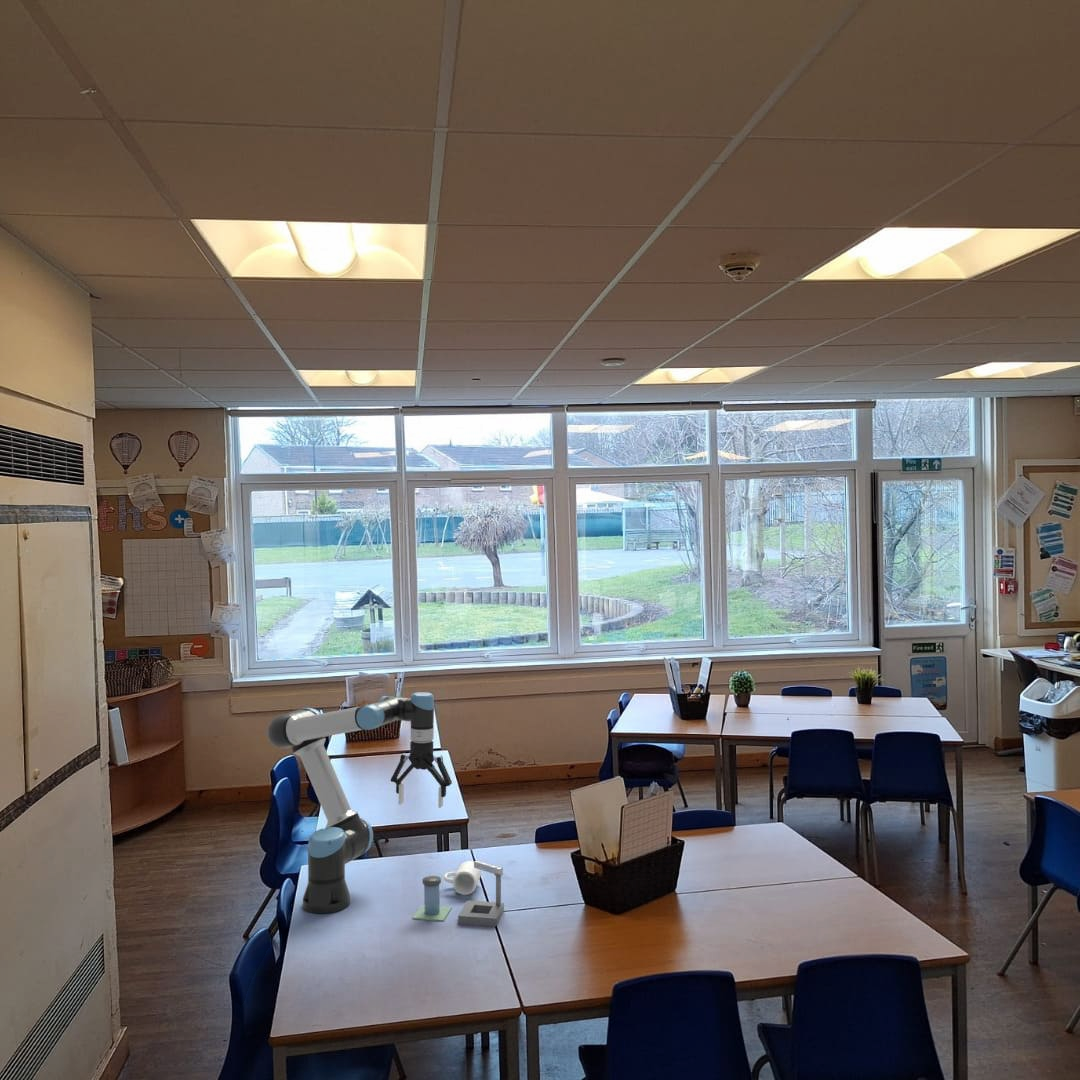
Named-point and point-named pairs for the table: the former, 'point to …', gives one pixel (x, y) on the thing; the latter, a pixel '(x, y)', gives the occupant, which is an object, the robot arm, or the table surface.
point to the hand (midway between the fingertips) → (420, 805)
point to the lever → (489, 868)
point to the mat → (438, 917)
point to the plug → (431, 895)
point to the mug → (464, 878)
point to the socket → (483, 910)
